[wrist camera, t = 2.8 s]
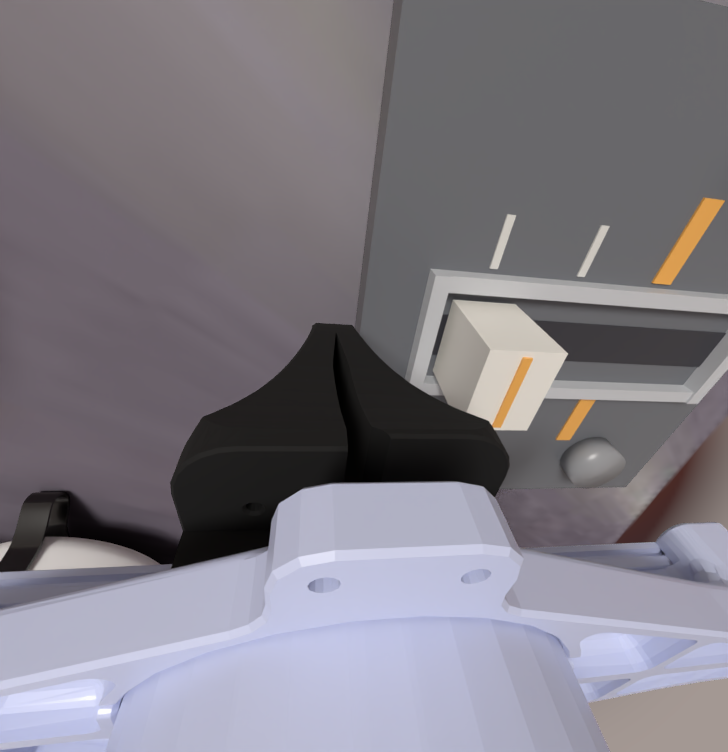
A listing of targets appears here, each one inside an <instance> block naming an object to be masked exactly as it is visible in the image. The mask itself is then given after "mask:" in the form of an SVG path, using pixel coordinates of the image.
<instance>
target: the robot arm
mask: <svg viewBox="0 0 728 752" xmlns="http://www.w3.org/2000/svg"><path fill="white" fill-rule="evenodd" d="M509 467H510V463H509V455H508V453H507V451H506V449H505V447H504V446H503V444H502V442H501V440H500V438H499V436H498V435H497V433H496V431H495V430H494V428H493V427H492V425H491V424H490V422H489V421H488V420H485V419H483V418H480V417H477V416H475V415H472V414H469V413H467V412H464V411H461V410H459V409H457V408H454V407H452V406H450V405H448V404H446V403H444V402H442V401H440V400H438V399H436V398H434V397H432V396H430V395H429V394H427V393H425V392H424V391H422V390H420V389H419V388H417V387H415V386H414V385H412V384H411V383H409V382H408V381H407V380H405V379H404V378H403V377H401V376H400V375H399V374H397V373H396V372H395V371H394V370H393V369H391V368H390V367H389V366H388V365H387V364H386V363H385V362H384V361H383V360H382V359H381V358H380V357H379V356H378V355H377V354H376V353H375V352H374V351H373V350H372V349H371V348H370V347H369V346H368V344H367V343H366V342H365V341H364V339H363V338H362V337H361V336H360V334H359V333H358V332H357V331H356V329H355V328H354V327H353V326H352V325H340V324H323V323H315V324H314V325H313V326H312V330H311V332H310V334H309V336H308V338H307V339H306V341H305V343H304V344H303V346H302V347H301V349H300V350H299V351H298V353H297V354H296V355H295V356H294V358H293V359H292V360H291V361H290V362H289V364H288V365H287V366H286V367H285V368H284V369H283V370H282V371H281V372H280V373H279V374H278V375H276V376H275V377H274V378H273V379H272V380H271V381H269V382H268V383H267V384H266V385H264V386H263V387H262V388H260V389H259V390H257V391H256V392H254V393H252V394H251V395H249V396H247V397H246V398H244V399H242V400H240V401H238V402H236V403H234V404H232V405H230V406H228V407H225V408H223V409H221V410H219V411H216V412H214V413H212V414H209V415H207V416H204V417H203V418H202V419H201V420H200V422H199V423H198V425H197V427H196V428H195V430H194V431H193V433H192V435H191V436H190V438H189V440H188V441H187V443H186V445H185V447H184V449H183V451H182V453H181V456H180V459H179V461H178V464H177V467H176V469H175V472H174V475H173V477H172V480H171V482H170V484H171V495H172V498H173V501H174V504H175V507H176V510H177V513H178V517H179V520H180V523H181V526H182V529H183V533H182V536H181V539H180V542H179V545H178V548H177V552H176V555H175V558H174V561H173V564H164V565H142V566H120V567H98V568H77V569H55V570H33V571H11V572H0V752H610V750H609V748H608V746H607V744H606V741H605V739H604V737H603V735H602V733H601V730H600V728H599V726H598V724H597V722H596V719H595V718H594V715H593V713H592V711H591V709H590V706H589V704H588V703H589V702H594V701H599V700H605V699H609V698H614V697H620V696H624V695H630V694H635V693H640V692H645V691H650V690H656V689H661V688H667V687H672V686H678V685H684V684H691V683H697V682H703V681H710V680H717V679H725V678H728V530H727V529H725V527H724V526H723V525H722V524H721V523H716V522H705V523H683V524H678V525H675V526H673V527H670V528H669V529H667V530H666V531H665V532H663V533H662V534H661V535H660V537H659V538H658V539H657V541H656V542H647V543H624V544H602V545H580V546H558V547H536V548H520V547H518V545H517V543H516V541H515V539H514V536H513V534H512V532H511V530H510V528H509V526H508V524H507V522H506V519H505V517H504V515H503V513H502V511H501V509H500V507H499V504H498V502H497V500H496V499H495V496H496V494H497V492H498V490H499V488H500V487H501V485H502V483H503V481H504V479H505V477H506V475H507V472H508V470H509Z"/></svg>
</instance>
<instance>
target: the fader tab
mask: <svg viewBox="0 0 728 752" xmlns="http://www.w3.org/2000/svg"><path fill="white" fill-rule="evenodd" d="M567 355H568V353H567V352H566V351H565V350H564V349H563V348H562V347H561V346H560V345H558V344H557V343H556V342H555V341H554V340H553V339H552V338H551V337H550V336H549V335H548V334H547V333H546V332H545V331H544V330H542V329H541V328H540V327H539V326H538V325H537V324H536V323H535V322H534V321H533V320H532V319H531V318H530V317H529V316H528V315H526V314H525V313H524V312H523V311H522V310H521V309H520V308H519V307H518V306H517V305H516V304H507V303H493V302H479V301H466V300H453V301H452V305H451V308H450V312H449V315H448V319H447V322H446V326H445V329H444V333H443V336H442V340H441V343H440V347H439V350H438V354H437V357H436V361H435V364H434V368H433V372H434V375H435V377H436V379H437V381H438V383H439V385H440V388H441V390H442V392H443V394H444V396H445V399H446V401H447V403H448V405H450V406H452V407H454V408H457V409H459V410H461V411H464V412H467V413H469V414H472V415H475V416H477V417H480V418H483V419H485V420H488V421H489V422H490V424H491V425H492V427H493V428H494V430H525V431H527V429H528V428H529V426H530V424H531V422H532V420H533V418H534V416H535V414H536V413H537V411H538V409H539V407H540V405H541V403H542V401H543V400H544V398H545V396H546V394H547V392H548V390H549V388H550V387H551V385H552V383H553V381H554V379H555V377H556V375H557V373H558V372H559V370H560V368H561V366H562V364H563V362H564V360H565V359H566V357H567Z"/></svg>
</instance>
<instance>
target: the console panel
mask: <svg viewBox="0 0 728 752" xmlns="http://www.w3.org/2000/svg"><path fill="white" fill-rule="evenodd" d="M453 300H466V301H479V302H493V303H507V304H516V305H517V306H518V307H519V308H520V309H521V310H522V311H523V312H524V313H525V314H526V315H528V316H529V317H530V318H531V319H532V320H533V321H534V322H535V323H536V324H537V325H538V326H539V327H540V328H541V329H542V330H544V331H545V332H546V333H547V334H548V335H549V336H550V337H551V338H552V339H553V340H554V341H555V342H556V343H557V344H558V345H560V346H561V347H562V348H563V349H564V350H565V351H566V352H567V353H568V355H567V357H566V359H565V360H564V362H563V364H562V366H561V368H560V370H559V372H558V373H557V375H556V377H555V379H554V381H553V383H552V385H551V387H550V388H549V390H548V392H547V394H546V396H545V398H544V400H543V401H542V403H541V405H540V407H539V409H538V411H537V413H536V414H535V416H534V418H533V420H532V422H531V424H530V426H529V428H528V429H527V431H525V430H495V431H496V433H497V435H498V436H499V438H500V440H501V442H502V444H503V446H504V447H505V449H506V451H507V453H508V455H509V463H510V467H509V470H508V472H507V475H506V477H505V479H504V481H503V483H502V485H501V487H500V488H499V489H541V488H603V487H626V486H627V485H628V484H629V483H630V481H631V480H632V479H633V478H634V477H635V476H636V475H637V473H638V472H639V471H640V470H641V469H642V468H643V467H644V465H645V464H646V463H647V462H648V461H649V460H650V459H651V457H652V456H653V455H654V454H655V453H656V452H657V451H658V449H659V448H660V447H661V446H662V445H663V444H664V442H665V441H666V440H667V439H668V438H669V437H670V436H671V434H672V433H673V432H674V431H675V430H676V429H677V428H678V426H679V425H680V424H681V423H682V422H683V421H684V420H685V418H686V417H687V416H688V415H689V414H690V413H691V412H692V410H693V409H694V408H695V407H696V406H697V405H698V404H699V402H700V401H701V400H702V399H703V398H704V397H705V396H706V394H707V393H708V392H709V391H710V390H711V389H712V387H713V386H714V385H715V384H716V383H717V382H718V381H719V379H720V378H721V377H722V376H723V375H724V374H725V373H726V371H727V370H728V7H726V6H722V5H717V4H713V3H709V2H705V1H701V0H394V3H393V11H392V20H391V28H390V37H389V45H388V53H387V62H386V70H385V79H384V87H383V96H382V104H381V112H380V121H379V129H378V138H377V146H376V154H375V163H374V171H373V180H372V188H371V197H370V205H369V213H368V222H367V230H366V239H365V247H364V256H363V264H362V272H361V281H360V289H359V298H358V306H357V314H356V323H355V329H356V331H357V332H358V333H359V334H360V336H361V337H362V338H363V339H364V341H365V342H366V343H367V344H368V346H369V347H370V348H371V349H372V350H373V351H374V352H375V353H376V354H377V355H378V356H379V357H380V358H381V359H382V360H383V361H384V362H385V363H386V364H387V365H388V366H389V367H390V368H391V369H393V370H394V371H395V372H396V373H397V374H399V375H400V376H401V377H403V378H404V379H405V380H407V381H408V382H409V383H411V384H412V385H414V386H415V387H417V388H419V389H420V390H422V391H424V392H425V393H427V394H429V395H430V396H432V397H434V398H436V399H438V400H440V401H442V402H444V403H446V404H448V403H447V401H446V399H445V396H444V394H443V392H442V390H441V388H440V385H439V383H438V381H437V379H436V377H435V375H434V372H433V368H434V364H435V361H436V357H437V354H438V350H439V347H440V343H441V340H442V336H443V333H444V329H445V326H446V322H447V319H448V315H449V312H450V308H451V305H452V301H453Z"/></svg>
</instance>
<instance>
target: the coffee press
mask: <svg viewBox="0 0 728 752" xmlns="http://www.w3.org/2000/svg"><path fill="white" fill-rule="evenodd" d="M69 507H70V497H69V495H68V494H67V493H66V492H36V493H32V494H31V495H29V496H28V497H27V499H26V500H25V501H24V503H23V505H22V508H21V512H20V516H19V520H18V524H17V528H16V531H15V534H14V537H13V540H12V541H9V542H5V543H1V544H0V572H11V571H33V570H55V569H77V568H98V567H120V566H142V565H160V564H159V563H158V562H156V561H155V560H153V559H151V558H150V557H148V556H146V555H144V554H142V553H139V552H137V551H135V550H132V549H129V548H126V547H123V546H120V545H116V544H112V543H108V542H104V541H98V540H92V539H85V538H75V537H70V535H69V533H68V527H67V524H68V514H69Z"/></svg>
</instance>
